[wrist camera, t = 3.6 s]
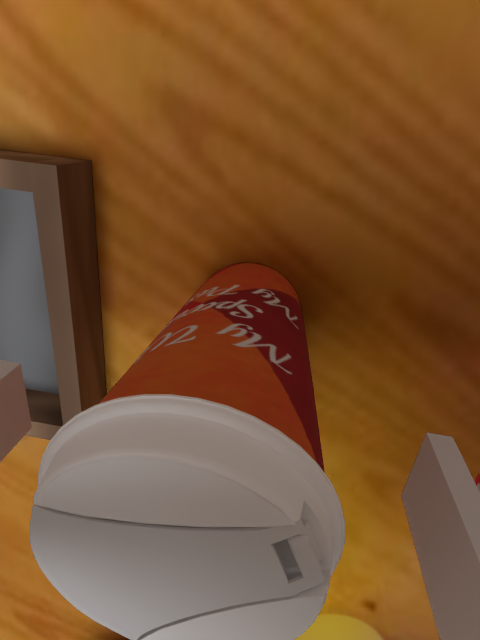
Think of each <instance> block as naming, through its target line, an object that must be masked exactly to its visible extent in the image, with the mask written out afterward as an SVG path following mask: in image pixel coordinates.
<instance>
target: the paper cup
mask: <svg viewBox="0 0 480 640" xmlns="http://www.w3.org/2000/svg"><path fill="white" fill-rule="evenodd" d="M38 475H39V476H38V488H37V490H36V492H35V494H34V497H33V501H34V503H33V504H34V505H33V507H32V514H31V522H30V543H31V547H32V551H33V555H34V557H35V559H36V561H37V563H38V565H39V567H40V569H41V570H42V571H43V573H44V574H45V576H46V577H47V578H48V580H49V581H50V582H51V584H52V585H53V586H54V587H55V588H56V589H57V590H58V591H59V592H60V594H61V595H62V596H63V597H64V598H65V599H66V600H68V601H69V602H70V603H71V604H72V605H73V606H74V607H75V608H76V609H78V610H79V611H81V612H82V613H84V614H85V615H86V616H88V617H89V618H91V619H92V620H94V621H96V622H98V623H99V624H101V625H103V626H105V627H107V628H109V629H110V630H112V631H114V632H116V633H118V634H120V635H122V636H124V637H126V638H128V639H130V640H294V639H296V638H297V637H298V636H300V635H301V634H303V633H304V632H305V631H306V630H307V629H308V628H309V627H310V626H311V624H312V623H313V622H314V621H315V619H316V618H317V616H318V614H319V612H320V610H321V609H322V607H323V605H324V603H325V600H326V596H327V592H328V588H329V582H330V577H331V575H332V573H333V571H334V570H335V568H336V566H337V564H338V561H339V560H340V558H341V554H342V550H343V546H344V543H345V520H344V515H343V511H342V507H341V502H340V500H339V498H338V496H337V494H336V491H335V489H334V487H333V485H332V483H331V481H330V480H329V479H328V477H327V476H326V474H325V473H324V465H323V458H322V450H321V443H320V436H319V428H318V421H317V413H316V406H315V398H314V389H313V382H312V375H311V369H310V362H309V354H308V347H307V340H306V334H305V327H304V321H303V315H302V310H301V305H300V302H299V299H298V296H297V294H296V292H295V290H294V288H293V287H292V285H291V284H290V283H289V281H288V280H287V279H286V278H285V277H283V276H282V275H281V274H280V273H278V272H277V271H275V270H273V269H271V268H269V267H267V266H264V265H260V264H255V263H239V264H234V265H230V266H227V267H225V268H223V269H221V270H219V271H218V272H216V273H215V274H214V275H212V276H211V277H210V278H209V279H208V280H207V281H206V282H205V283H204V284H203V285H202V286H201V287H200V288H199V289H198V290H197V292H196V293H195V294H194V295H193V296H192V297H191V298H190V299H189V301H188V302H187V303H186V304H185V305H184V306H183V307H182V308H181V310H180V311H179V312H178V313H177V314H176V315H175V316H174V318H173V319H172V320H171V321H170V322H169V323H168V324H167V326H166V327H165V328H164V329H163V330H162V331H161V332H160V334H159V335H158V336H157V337H156V338H155V339H154V341H153V342H152V343H151V344H150V345H149V346H148V348H147V349H146V350H145V351H144V352H143V353H142V354H141V356H140V357H139V358H138V359H137V360H136V361H135V363H134V364H133V365H132V366H131V367H130V368H129V370H128V371H127V372H126V373H125V374H124V375H123V376H122V378H121V379H120V380H119V381H118V382H117V383H116V385H115V386H114V387H113V388H112V389H111V390H110V391H109V393H108V394H107V395H106V396H105V397H104V398H103V400H102V401H101V402H100V403H99V404H97V405H94V406H92V407H90V408H88V409H86V410H85V411H83V412H81V413H79V414H77V415H75V416H74V417H73V418H72V419H70V420H69V421H68V422H67V423H66V424H64V425H63V426H62V427H61V428H60V429H59V430H58V432H57V433H56V434H55V435H54V437H53V438H52V439H51V440H50V442H49V443H48V445H47V447H46V450H45V452H44V454H43V456H42V459H41V464H40V469H39V474H38Z"/></svg>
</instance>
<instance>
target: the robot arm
mask: <svg viewBox="0 0 480 640" xmlns="http://www.w3.org/2000/svg"><path fill="white" fill-rule="evenodd" d="M31 428H32V424H31V418H30V413H29V407H28V401H27V396H26V390H25V384H24V379H23V373H22V368H21V363H17V362H11V361H5V360H0V462H1V461H2V460H3V459H4V457H5V456H6V455H7V454H8V453H9V452H10V451H11V450H12V449H13V448H14V446H15V445H16V444H17V443H18V442H19V441H20V440H21V439H22V438H23V437H24V436H25V434H26V433H27V432H28V431H29V430H30V429H31ZM401 496H402V500H403V504H404V508H405V511H406V515H407V519H408V523H409V526H410V530H411V534H412V537H413V541H414V545H415V549H416V552H417V556H418V560H419V564H420V567H421V571H422V575H423V578H424V582H425V586H426V590H427V593H428V597H429V601H430V605H431V608H432V612H433V616H434V619H435V623H436V627H437V631H438V634H439V638H440V640H480V492H479V490H478V488H477V486H476V484H475V482H474V480H473V478H472V475H471V473H470V471H469V469H468V467H467V465H466V463H465V461H464V459H463V457H462V455H461V453H460V451H459V449H458V447H457V445H456V443H455V441H454V439H453V437H450V436H444V435H439V434H433V433H426V435H425V438H424V440H423V443H422V445H421V448H420V450H419V453H418V455H417V458H416V460H415V463H414V465H413V468H412V470H411V472H410V475H409V477H408V480H407V482H406V485H405V487H404V490H403V492H402V495H401Z"/></svg>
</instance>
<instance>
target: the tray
mask: <svg viewBox="0 0 480 640" xmlns="http://www.w3.org/2000/svg"><path fill="white" fill-rule="evenodd" d="M0 360H5V361H11V362H17V363H21V368H22V373H23V379H24V384H25V390H26V396H27V401H28V407H29V413H30V418H31V424H32V428H31V429H30V430H29V431H28V432H27V433H26V434H25V435H27V436H32V437H37V438H43V439H48V440H51V439H52V438H53V437H54V435H55V434H56V433H57V432H58V430H59V429H60V428H61V427H62V426H63V425H64V424H66V423H67V422H68V421H69V420H70V419H72V418H73V417H74V416H75V415H77V414H79V413H81V412H83V411H85V410H86V409H88V408H90V407H92V406H94V405H97V404H99V403H100V402H101V401H102V400H103V398H104V397H105V396H106V395H107V394H106V379H105V364H104V349H103V333H102V318H101V303H100V287H99V272H98V257H97V242H96V226H95V211H94V196H93V180H92V165H91V161H90V160H82V159H73V158H65V157H57V156H49V155H41V154H32V153H24V152H16V151H8V150H0Z"/></svg>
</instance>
